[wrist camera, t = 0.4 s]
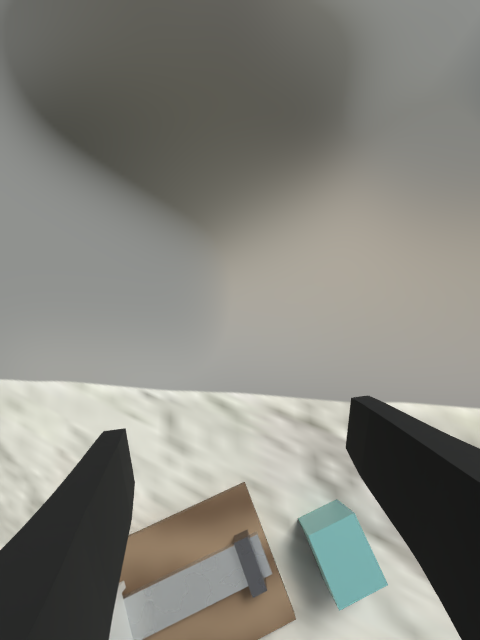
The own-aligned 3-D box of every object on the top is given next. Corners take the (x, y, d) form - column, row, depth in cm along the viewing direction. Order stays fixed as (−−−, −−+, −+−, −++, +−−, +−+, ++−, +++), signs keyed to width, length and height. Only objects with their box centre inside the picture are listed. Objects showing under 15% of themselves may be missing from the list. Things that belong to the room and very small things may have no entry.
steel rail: (273, 575, 30) (275, 586, 28) (54, 685, 27) (38, 706, 25) (254, 525, 31) (255, 532, 29) (44, 626, 29) (28, 642, 27)
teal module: (364, 558, 31) (387, 584, 26) (323, 579, 31) (339, 610, 25) (337, 499, 33) (354, 513, 28) (297, 518, 32) (308, 535, 27)
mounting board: (294, 612, 30) (295, 619, 29) (65, 731, 27) (57, 744, 26) (244, 481, 33) (244, 483, 32) (38, 577, 31) (31, 582, 30)
